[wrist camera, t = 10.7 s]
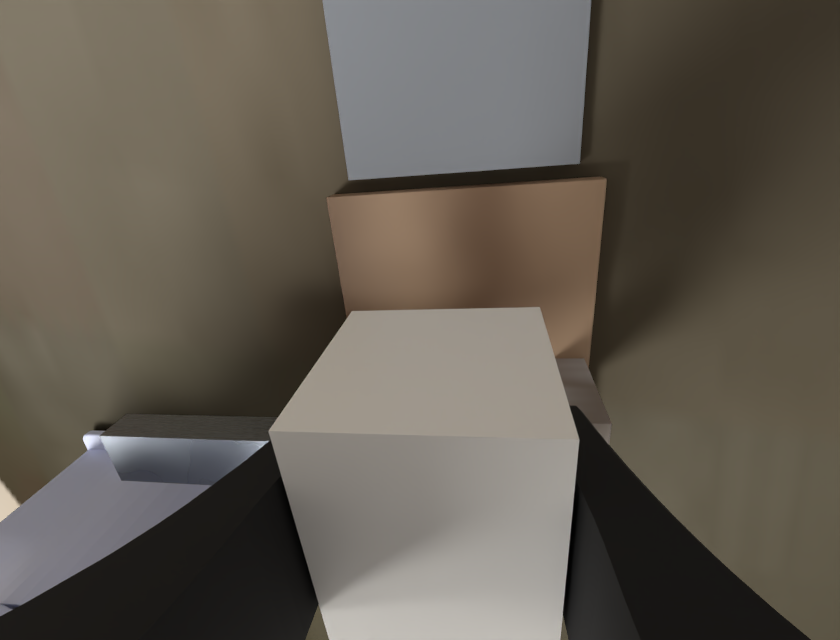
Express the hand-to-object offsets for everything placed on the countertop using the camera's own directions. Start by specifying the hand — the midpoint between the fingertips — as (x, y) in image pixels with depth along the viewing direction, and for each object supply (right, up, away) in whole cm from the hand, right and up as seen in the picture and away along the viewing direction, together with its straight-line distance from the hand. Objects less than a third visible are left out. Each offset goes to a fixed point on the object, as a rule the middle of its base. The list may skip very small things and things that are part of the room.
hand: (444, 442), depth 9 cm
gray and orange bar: (-6, -2, +6) cm, 9 cm away
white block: (0, -1, +2) cm, 2 cm away
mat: (0, +12, +4) cm, 13 cm away
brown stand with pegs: (+1, +2, +9) cm, 9 cm away
